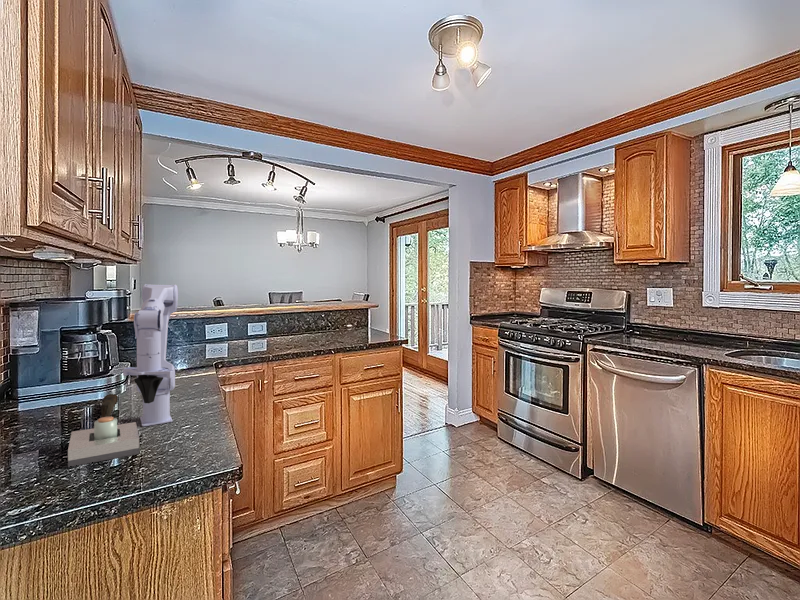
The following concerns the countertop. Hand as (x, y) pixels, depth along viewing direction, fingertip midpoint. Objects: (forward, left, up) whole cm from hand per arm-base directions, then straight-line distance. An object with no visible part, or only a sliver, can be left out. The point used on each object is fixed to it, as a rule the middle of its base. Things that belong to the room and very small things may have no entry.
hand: (149, 402), depth 114 cm
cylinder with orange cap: (+4, -10, -8) cm, 14 cm away
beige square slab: (+4, -10, -10) cm, 15 cm away
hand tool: (-32, -9, -10) cm, 35 cm away
